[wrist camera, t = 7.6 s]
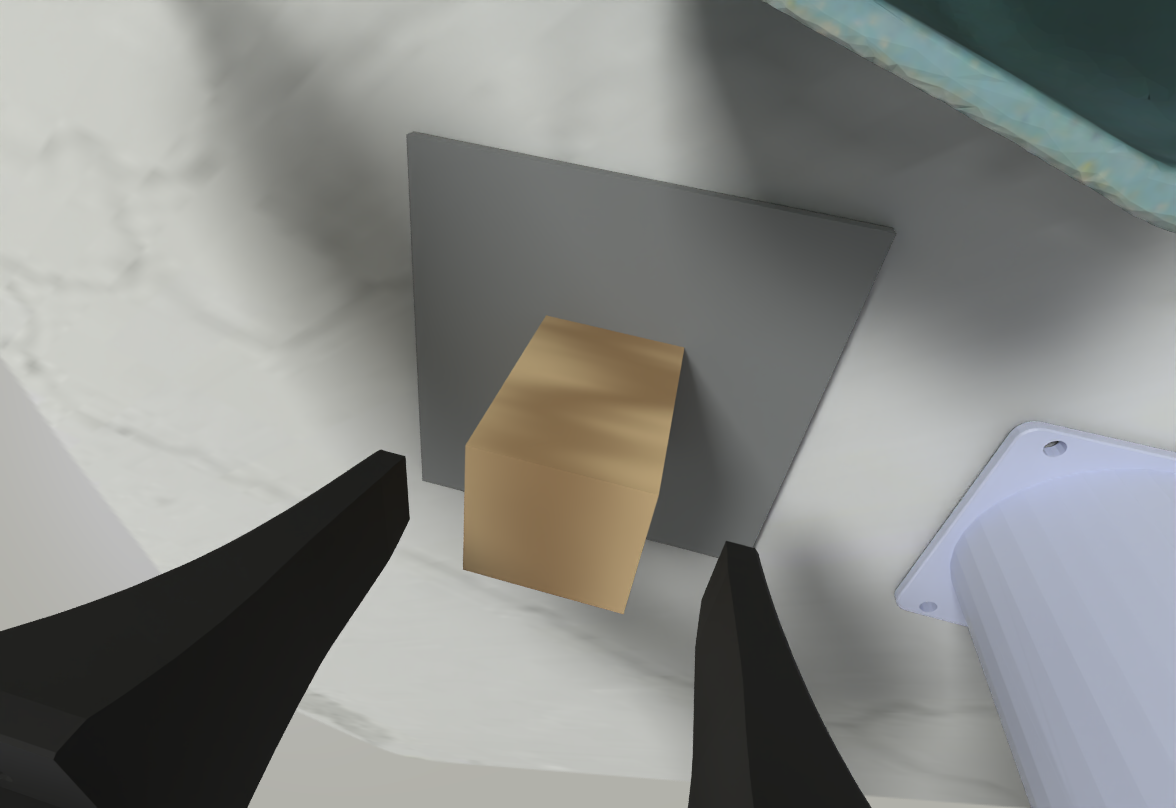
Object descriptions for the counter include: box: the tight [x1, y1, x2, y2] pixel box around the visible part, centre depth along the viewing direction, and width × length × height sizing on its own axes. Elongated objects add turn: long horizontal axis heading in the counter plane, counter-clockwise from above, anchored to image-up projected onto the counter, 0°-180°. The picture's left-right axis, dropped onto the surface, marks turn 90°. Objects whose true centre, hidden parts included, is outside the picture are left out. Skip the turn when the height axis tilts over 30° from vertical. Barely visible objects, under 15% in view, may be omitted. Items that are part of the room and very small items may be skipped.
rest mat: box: [407, 132, 896, 558], centre depth 18 cm, size 12×12×1 cm
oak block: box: [463, 315, 684, 614], centre depth 15 cm, size 4×4×6 cm
